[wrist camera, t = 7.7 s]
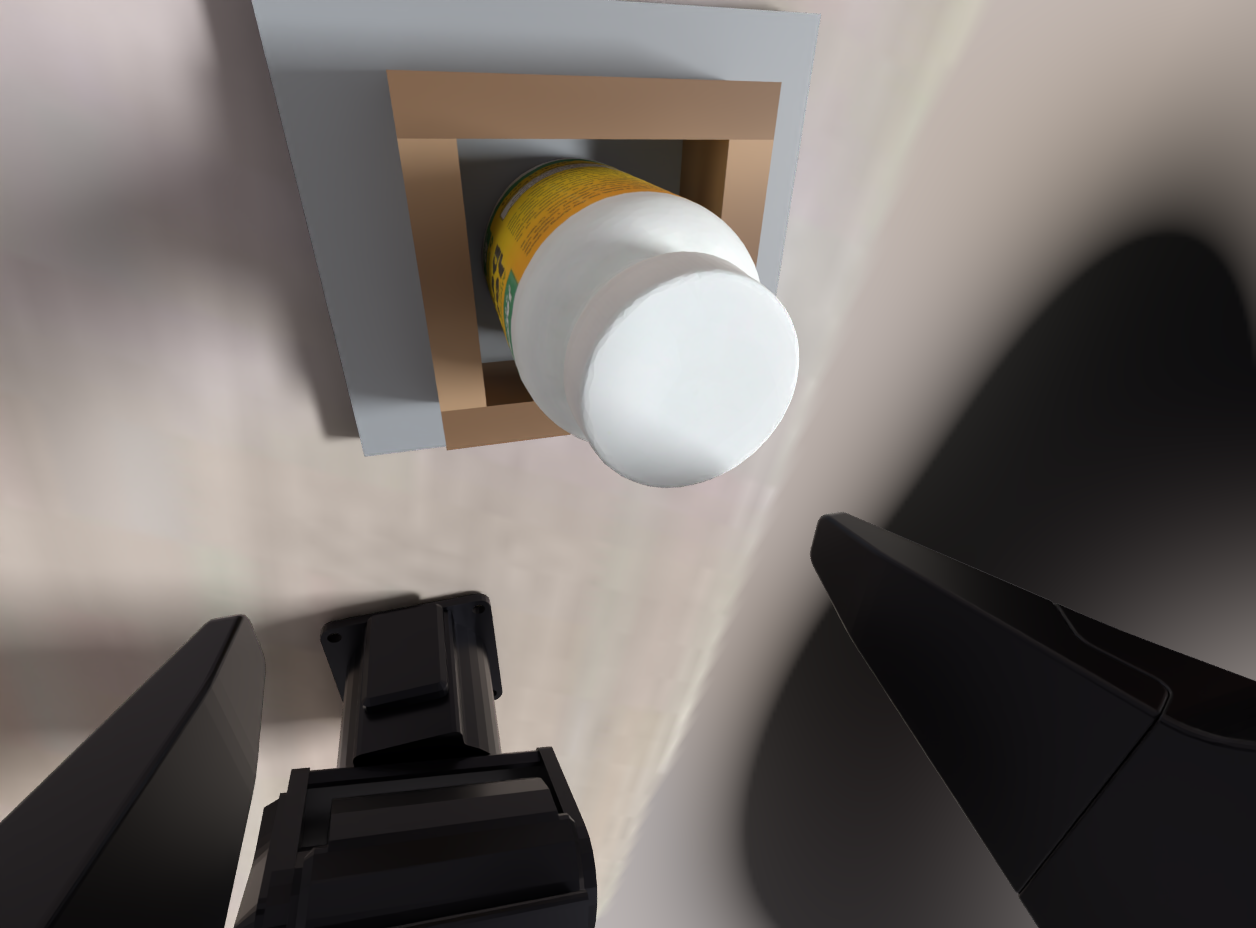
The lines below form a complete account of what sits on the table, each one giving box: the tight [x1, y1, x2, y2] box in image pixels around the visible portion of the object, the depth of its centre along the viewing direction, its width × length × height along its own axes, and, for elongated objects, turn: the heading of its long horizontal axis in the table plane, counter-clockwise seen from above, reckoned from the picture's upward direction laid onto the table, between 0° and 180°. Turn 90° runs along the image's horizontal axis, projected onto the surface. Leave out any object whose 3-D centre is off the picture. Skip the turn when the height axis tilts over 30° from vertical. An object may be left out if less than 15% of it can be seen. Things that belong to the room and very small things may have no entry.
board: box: [251, 0, 821, 456], centre depth 18 cm, size 12×14×1 cm
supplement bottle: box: [482, 158, 799, 488], centre depth 14 cm, size 5×5×10 cm
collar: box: [386, 70, 782, 450], centre depth 17 cm, size 9×9×3 cm
